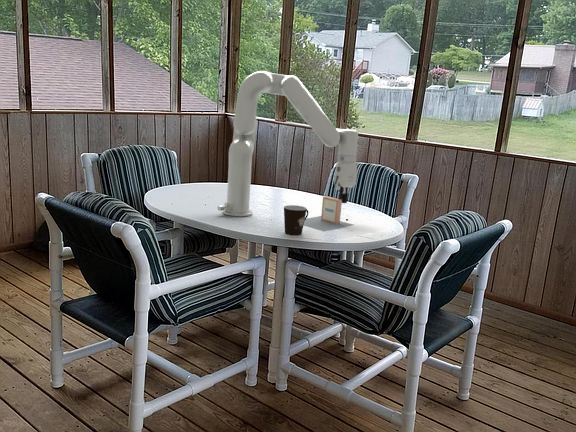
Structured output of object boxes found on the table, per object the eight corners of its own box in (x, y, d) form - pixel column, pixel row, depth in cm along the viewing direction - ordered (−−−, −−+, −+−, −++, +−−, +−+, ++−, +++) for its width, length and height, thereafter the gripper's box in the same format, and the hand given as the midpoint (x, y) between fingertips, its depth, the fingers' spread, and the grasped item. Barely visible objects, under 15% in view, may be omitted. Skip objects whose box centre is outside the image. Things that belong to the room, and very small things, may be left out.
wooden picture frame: (335, 224, 228) (338, 200, 226) (320, 220, 234) (323, 196, 231) (339, 223, 230) (342, 199, 228) (324, 219, 236) (326, 196, 233)
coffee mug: (287, 236, 205) (289, 210, 203) (278, 230, 213) (280, 205, 211) (315, 235, 210) (317, 209, 208) (305, 230, 218) (307, 204, 215)
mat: (323, 232, 215) (323, 231, 215) (289, 222, 227) (289, 221, 227) (354, 226, 230) (354, 224, 230) (321, 217, 242) (321, 215, 242)
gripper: (342, 161, 223) (338, 206, 228) (364, 159, 234) (360, 202, 238) (328, 158, 228) (324, 202, 232) (350, 157, 239) (346, 199, 243)
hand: (342, 202), depth 235 cm, fingers closed
